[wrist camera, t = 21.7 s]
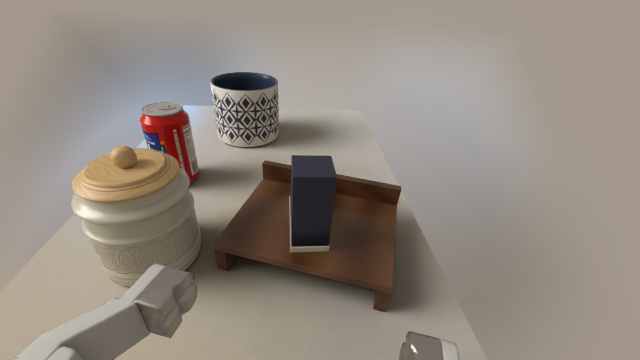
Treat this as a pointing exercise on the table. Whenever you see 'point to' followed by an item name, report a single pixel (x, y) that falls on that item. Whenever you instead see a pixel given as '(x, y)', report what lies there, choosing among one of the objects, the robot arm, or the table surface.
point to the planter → (246, 108)
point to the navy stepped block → (311, 203)
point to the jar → (137, 212)
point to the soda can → (170, 134)
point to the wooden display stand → (345, 236)
